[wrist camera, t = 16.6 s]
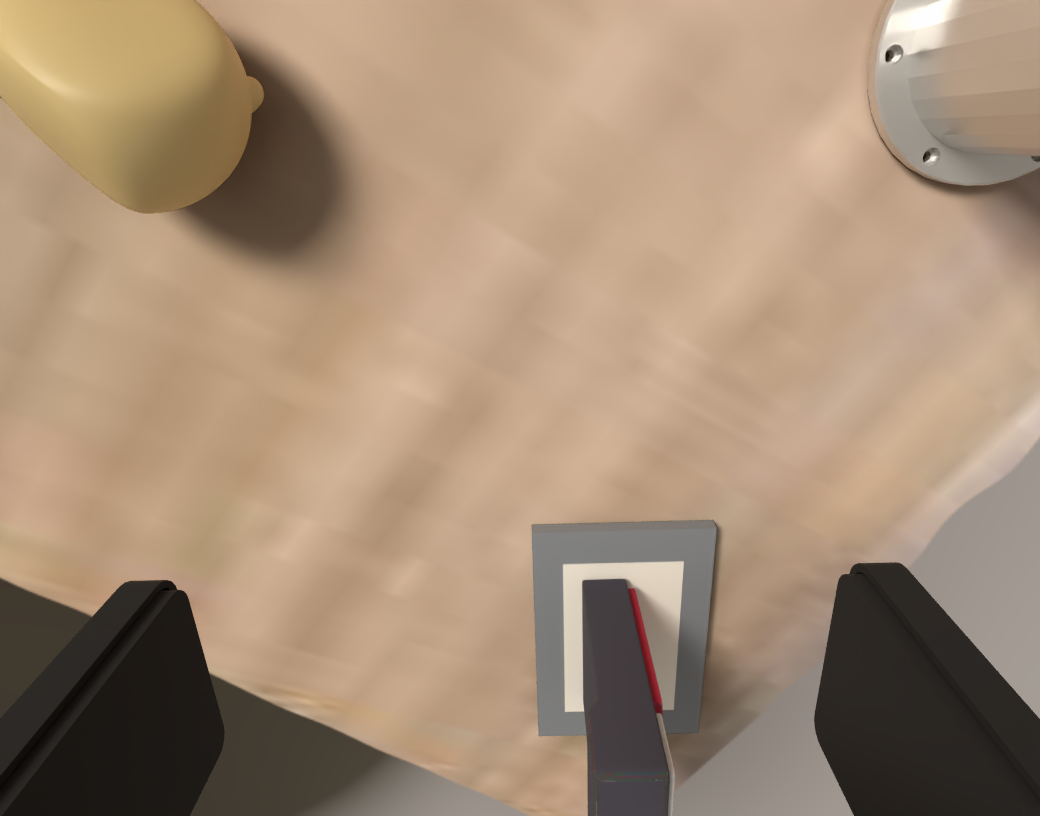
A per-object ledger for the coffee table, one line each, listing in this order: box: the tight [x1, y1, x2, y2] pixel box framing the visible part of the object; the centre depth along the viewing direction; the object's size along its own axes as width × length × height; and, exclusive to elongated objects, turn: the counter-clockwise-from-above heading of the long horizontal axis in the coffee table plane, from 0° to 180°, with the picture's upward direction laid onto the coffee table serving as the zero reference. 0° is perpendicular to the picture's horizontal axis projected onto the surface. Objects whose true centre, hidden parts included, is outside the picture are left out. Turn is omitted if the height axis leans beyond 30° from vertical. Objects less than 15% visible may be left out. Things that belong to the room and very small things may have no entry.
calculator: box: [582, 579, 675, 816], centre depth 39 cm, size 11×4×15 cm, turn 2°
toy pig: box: [0, 0, 264, 213], centre depth 29 cm, size 10×12×11 cm
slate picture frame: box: [532, 520, 717, 736], centre depth 47 cm, size 12×18×1 cm, turn 2°
